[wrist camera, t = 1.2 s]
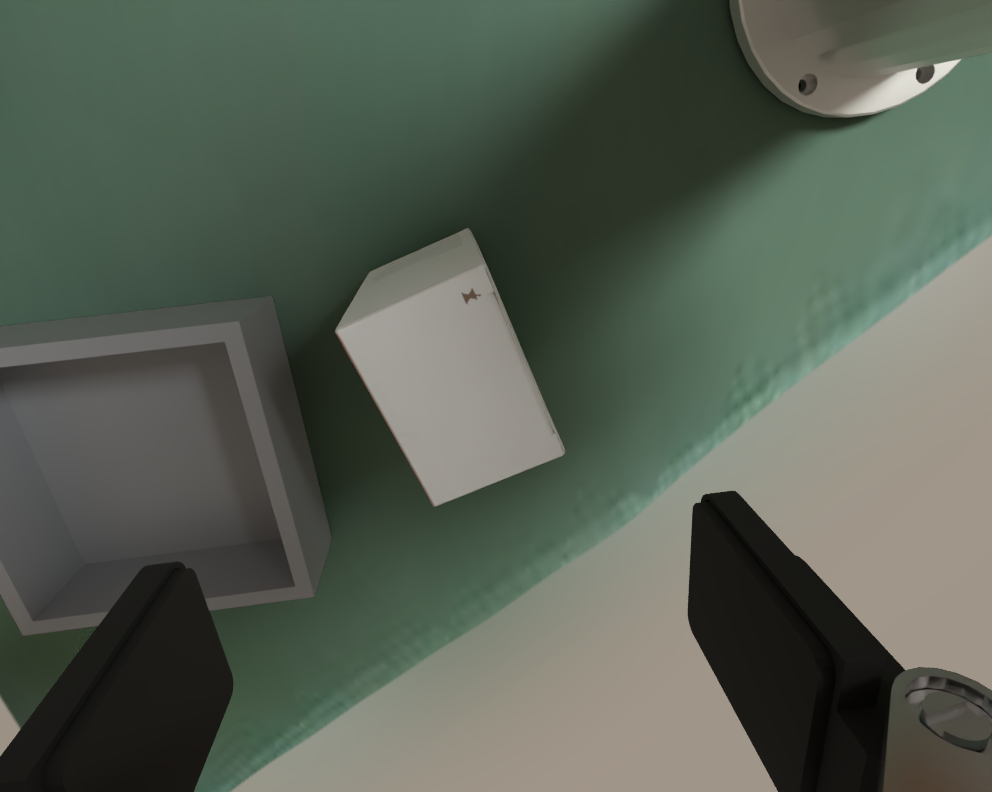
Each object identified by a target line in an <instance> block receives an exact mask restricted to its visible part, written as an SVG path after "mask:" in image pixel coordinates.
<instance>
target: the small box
mask: <svg viewBox="0 0 992 792" xmlns="http://www.w3.org/2000/svg"><path fill="white" fill-rule="evenodd" d="M335 333H336V335H337V337H338V338H339V340H340V342H341V344H342V345H343V347H344V349H345V351H346V353H347V354H348V356H349V358H350V360H351V361H352V363H353V365H354V367H355V368H356V370H357V372H358V374H359V375H360V377H361V379H362V381H363V382H364V384H365V386H366V388H367V390H368V391H369V393H370V395H371V397H372V398H373V400H374V402H375V404H376V406H377V407H378V409H379V411H380V413H381V414H382V416H383V418H384V420H385V421H386V423H387V425H388V427H389V428H390V430H391V432H392V434H393V436H394V437H395V439H396V441H397V443H398V444H399V446H400V448H401V450H402V451H403V453H404V455H405V457H406V459H407V460H408V462H409V464H410V466H411V468H412V469H413V471H414V473H415V475H416V477H417V478H418V480H419V482H420V484H421V485H422V487H423V489H424V491H425V492H426V494H427V496H428V498H429V499H430V501H431V504H432V505H433V506H438V505H440V504H443V503H445V502H448V501H450V500H453V499H456V498H458V497H461V496H463V495H466V494H468V493H471V492H473V491H475V490H478V489H480V488H483V487H485V486H488V485H490V484H493V483H495V482H498V481H500V480H503V479H505V478H508V477H510V476H513V475H515V474H518V473H520V472H523V471H525V470H528V469H531V468H533V467H536V466H538V465H541V464H543V463H546V462H548V461H551V460H553V459H556V458H558V457H561V456H563V455H564V453H565V449H564V446H563V444H562V441H561V439H560V437H559V435H558V432H557V430H556V428H555V425H554V423H553V421H552V419H551V416H550V414H549V412H548V409H547V407H546V405H545V402H544V400H543V398H542V395H541V393H540V391H539V388H538V386H537V384H536V381H535V379H534V376H533V374H532V372H531V369H530V367H529V365H528V362H527V360H526V357H525V355H524V353H523V350H522V348H521V346H520V343H519V341H518V338H517V336H516V334H515V331H514V329H513V326H512V324H511V322H510V319H509V317H508V314H507V312H506V310H505V307H504V305H503V302H502V300H501V298H500V295H499V293H498V290H497V288H496V286H495V283H494V281H493V279H492V276H491V274H490V272H489V269H488V267H487V265H486V262H485V260H484V258H483V256H482V253H481V251H480V249H479V247H478V244H477V242H476V240H475V238H474V236H473V234H472V232H471V231H470V229H469V228H466V229H464V230H462V231H460V232H458V233H456V234H453V235H451V236H449V237H447V238H444V239H442V240H440V241H438V242H435V243H433V244H431V245H428V246H426V247H424V248H422V249H420V250H417V251H415V252H413V253H411V254H408V255H406V256H404V257H402V258H399V259H397V260H395V261H392V262H390V263H388V264H386V265H384V266H381V267H379V268H377V269H375V270H372V271H370V272H369V273H368V275H367V277H366V278H365V280H364V282H363V283H362V285H361V287H360V288H359V290H358V292H357V294H356V295H355V297H354V299H353V301H352V302H351V304H350V306H349V307H348V309H347V310H346V312H345V314H344V315H343V317H342V319H341V321H340V323H339V324H338V326H337V328H336V330H335Z"/></svg>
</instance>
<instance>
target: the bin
mask: <svg viewBox="0 0 992 792" xmlns="http://www.w3.org/2000/svg"><path fill="white" fill-rule="evenodd" d="M331 541H332V535H331V531H330V527H329V523H328V519H327V515H326V511H325V507H324V503H323V499H322V495H321V491H320V487H319V483H318V479H317V475H316V471H315V466H314V462H313V458H312V454H311V450H310V446H309V442H308V438H307V434H306V430H305V426H304V422H303V418H302V414H301V410H300V406H299V402H298V398H297V394H296V390H295V386H294V382H293V378H292V374H291V370H290V366H289V362H288V358H287V354H286V350H285V345H284V341H283V337H282V333H281V329H280V325H279V321H278V317H277V313H276V309H275V305H274V301H273V297H272V296H266V297H257V298H249V299H240V300H231V301H222V302H213V303H204V304H195V305H186V306H177V307H168V308H159V309H150V310H141V311H132V312H123V313H114V314H105V315H97V316H88V317H79V318H70V319H61V320H52V321H43V322H34V323H25V324H16V325H7V326H0V595H1V596H2V598H3V600H4V602H5V604H6V606H7V608H8V609H9V611H10V613H11V615H12V617H13V619H14V621H15V622H16V624H17V626H18V628H19V630H20V632H21V633H22V635H23V636H27V635H34V634H41V633H49V632H56V631H64V630H71V629H79V628H86V627H94V626H99V624H100V623H101V622H102V620H103V619H104V618H105V616H106V615H107V614H108V612H109V611H110V610H111V608H112V607H113V606H114V604H115V603H116V602H117V600H118V599H119V598H120V596H121V595H122V594H123V592H124V591H125V590H126V588H127V587H128V586H129V584H130V583H131V582H132V580H133V579H134V578H135V576H136V575H137V574H138V572H139V571H140V570H141V569H142V568H143V567H144V566H147V565H153V564H161V563H169V562H177V561H178V562H182V563H183V564H184V565H185V567H186V568H192V569H193V570H194V571H195V573H196V575H197V578H198V581H199V584H200V586H201V589H202V592H203V595H204V598H205V600H206V603H207V606H208V609H209V611H213V610H221V609H228V608H235V607H243V606H250V605H258V604H265V603H273V602H280V601H288V600H295V599H303V598H310V597H315V594H316V591H317V587H318V584H319V581H320V577H321V574H322V571H323V567H324V564H325V561H326V557H327V554H328V551H329V547H330V544H331Z"/></svg>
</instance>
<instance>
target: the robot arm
mask: <svg viewBox="0 0 992 792" xmlns="http://www.w3.org/2000/svg"><path fill="white" fill-rule="evenodd" d="M729 1H730V12H731V16H732V21H733V25H734V29H735V33H736V37H737V41H738V43H739V45H740V47H741V49H742V52H743V54H744V56H745V58H746V61H747V63H748V65H749V66H750V68H751V69H752V70H753V72H754V73H755V75H756V76H757V77H758V79H759V80H760V81H761V83H762V84H763V86H765V87H766V88H767V89H768V90H769V91H770V92H772V93H773V94H774V95H775V96H776V97H777V98H778V99H780V100H781V101H782V102H784V103H786V104H788V105H790V106H792V107H794V108H796V109H797V110H799V111H801V112H804V113H808V114H812V115H816V116H821V117H825V118H851V117H857V116H864V115H873V114H876V113H879V112H882V111H885V110H889V109H892V108H895V107H898V106H900V105H902V104H904V103H906V102H908V101H910V100H911V99H913V98H915V97H917V96H919V95H921V94H923V93H924V92H925V91H927V90H928V89H929V88H931V87H932V86H933V85H935V84H936V83H937V82H939V81H940V80H941V79H943V78H944V77H945V76H947V75H948V74H949V73H950V72H951V71H952V70H953V69H954V68H955V66H956V65H957V64H958V63H959V62H960V61H961V60H962V59H964V58H968V57H973V56H978V55H983V54H988V53H992V0H729ZM799 82H800V83H801V89H800V91H799V87H798V85H799ZM688 598H689V599H688V619H689V624H690V627H691V630H692V633H693V635H694V637H695V638H696V640H697V642H698V644H699V646H700V648H701V650H702V651H703V653H704V655H705V657H706V659H707V660H708V663H709V664H710V666H711V668H712V670H713V671H714V674H715V676H716V677H717V679H718V681H719V683H720V685H721V687H722V688H723V690H724V692H725V694H726V696H727V698H728V699H729V701H730V703H731V705H732V707H733V709H734V711H735V713H736V714H737V716H738V718H739V720H740V722H741V724H742V726H743V727H744V729H745V731H746V733H747V735H748V737H749V738H750V740H751V742H752V744H753V746H754V748H755V749H756V752H757V753H758V755H759V757H760V759H761V761H762V763H763V765H764V766H765V768H766V770H767V772H768V774H769V776H770V778H771V779H772V781H773V783H774V785H775V787H776V788H777V790H778V792H992V691H991V690H990V689H988V688H987V687H985V686H983V685H982V684H980V683H978V682H976V681H974V680H972V679H970V678H967V677H965V676H963V675H960V674H958V673H954V672H951V671H946V670H943V669H938V668H925V667H924V668H923V667H918V668H914V669H909V670H904V669H903V667H902V666H901V665H900V664H899V663H898V662H897V661H896V660H895V659H894V658H893V656H892V655H891V654H890V653H889V652H888V651H887V650H886V649H885V648H884V647H883V646H882V645H881V643H880V642H879V641H878V640H877V639H876V638H875V637H874V636H873V635H872V634H871V633H870V632H869V631H868V629H867V628H866V627H865V626H864V625H863V624H862V623H861V622H860V621H859V620H858V619H857V617H855V615H854V614H853V613H852V612H851V611H850V610H849V609H848V608H847V607H846V606H845V604H844V603H843V602H842V601H841V600H840V599H839V598H838V597H837V596H836V595H835V594H834V593H833V592H832V590H831V589H830V588H829V587H828V586H827V585H826V584H825V583H824V582H823V581H822V580H821V578H820V577H819V576H818V575H817V574H816V573H815V572H814V571H813V570H812V569H811V568H810V567H809V565H808V564H807V563H806V562H805V561H803V560H802V559H801V558H800V557H798V556H795V555H794V554H793V553H792V552H791V551H790V550H789V549H788V548H787V546H786V545H785V544H784V543H783V542H782V541H781V540H780V539H779V538H778V537H777V535H776V534H775V533H774V532H773V531H772V530H771V529H770V528H769V527H768V526H767V525H766V523H765V522H764V521H763V520H762V519H761V518H760V517H759V516H758V515H757V514H756V512H755V511H753V509H752V508H751V507H750V506H749V505H748V504H747V502H746V501H745V500H744V499H743V498H742V497H741V496H740V495H739V494H738V493H737V492H736V491H727V492H720V493H711V494H705V495H703V497H702V499H701V503H696V504H695V505H694V506H693V514H692V536H691V555H690V576H689V596H688ZM232 691H233V677H232V673H231V670H230V668H229V665H228V662H227V659H226V656H225V654H224V651H223V648H222V645H221V642H220V640H219V637H218V634H217V631H216V628H215V626H214V623H213V620H212V617H211V614H210V612H209V609H208V606H207V603H206V600H205V598H204V595H203V592H202V589H201V586H200V584H199V581H198V578H197V575H196V573H195V571H194V570H193V569H192V568H186V567H185V565H184V564H183V563H182V562H178V561H177V562H169V563H161V564H153V565H147V566H144V567H143V568H142V569H141V570H140V571H139V572H138V574H137V575H136V576H135V578H134V579H133V580H132V582H131V583H130V584H129V586H128V587H127V588H126V590H125V591H124V592H123V594H122V595H121V596H120V598H119V599H118V600H117V602H116V603H115V604H114V606H113V607H112V608H111V610H110V611H109V612H108V614H107V615H106V616H105V618H104V619H103V620H102V622H101V623H100V624H99V626H98V627H97V628H96V630H95V631H94V632H93V634H92V635H91V636H90V638H89V639H88V640H87V642H86V643H85V644H84V646H83V647H82V648H81V650H80V651H79V652H78V654H77V655H76V656H75V658H74V659H73V660H72V662H71V663H70V664H69V666H68V667H67V668H66V670H65V671H64V672H63V674H62V675H61V676H60V678H59V679H58V680H57V682H56V683H55V684H54V686H53V687H52V688H51V690H50V691H49V692H48V694H47V695H46V696H45V698H44V699H43V700H42V702H41V703H40V704H39V706H38V707H37V708H36V710H35V711H34V712H33V714H32V715H31V716H30V718H29V719H28V720H27V722H26V723H25V724H24V726H23V727H22V728H21V730H20V731H19V732H18V734H17V735H16V737H15V738H14V739H13V740H12V742H11V743H10V744H9V746H8V747H7V749H6V750H5V751H4V752H3V754H2V755H1V756H0V792H194V790H195V787H196V785H197V782H198V779H199V777H200V774H201V772H202V769H203V767H204V764H205V762H206V759H207V757H208V754H209V752H210V749H211V747H212V744H213V742H214V739H215V737H216V734H217V732H218V729H219V727H220V724H221V722H222V719H223V717H224V714H225V712H226V709H227V706H228V704H229V701H230V699H231V696H232Z"/></svg>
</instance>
